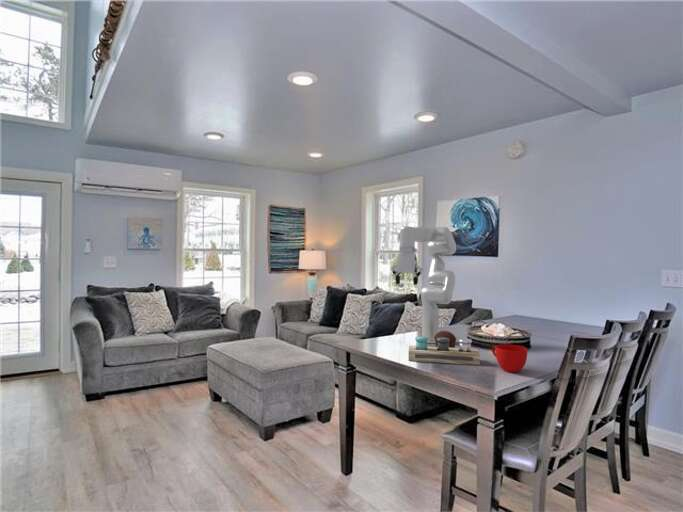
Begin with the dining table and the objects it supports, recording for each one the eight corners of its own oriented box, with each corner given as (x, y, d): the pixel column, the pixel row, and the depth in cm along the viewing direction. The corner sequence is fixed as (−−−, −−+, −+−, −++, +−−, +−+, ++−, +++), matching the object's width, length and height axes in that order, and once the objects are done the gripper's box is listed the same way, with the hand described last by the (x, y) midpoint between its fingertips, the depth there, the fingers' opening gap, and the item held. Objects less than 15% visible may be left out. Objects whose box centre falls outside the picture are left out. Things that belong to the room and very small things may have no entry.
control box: (409, 355, 207) (409, 345, 207) (476, 359, 201) (476, 348, 201) (408, 360, 197) (408, 350, 196) (479, 365, 190) (479, 354, 190)
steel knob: (457, 351, 200) (457, 338, 200) (470, 351, 199) (470, 338, 199) (458, 353, 194) (459, 340, 194) (472, 354, 193) (472, 341, 193)
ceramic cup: (502, 363, 194) (502, 341, 194) (533, 372, 179) (534, 349, 179) (481, 366, 188) (482, 344, 188) (512, 376, 173) (512, 352, 173)
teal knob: (415, 348, 204) (415, 336, 204) (427, 349, 203) (428, 336, 203) (415, 351, 198) (415, 338, 198) (428, 352, 197) (428, 339, 197)
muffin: (460, 352, 214) (460, 333, 214) (440, 354, 211) (441, 334, 211) (448, 347, 225) (449, 329, 225) (430, 348, 222) (430, 329, 222)
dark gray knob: (436, 349, 202) (436, 337, 202) (449, 350, 201) (449, 337, 201) (436, 352, 196) (436, 339, 196) (449, 353, 195) (450, 340, 195)
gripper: (425, 251, 212) (425, 284, 212) (394, 250, 222) (394, 283, 222) (419, 250, 206) (419, 285, 206) (388, 250, 215) (388, 283, 215)
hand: (406, 284), depth 214 cm, fingers open, 9 cm apart
